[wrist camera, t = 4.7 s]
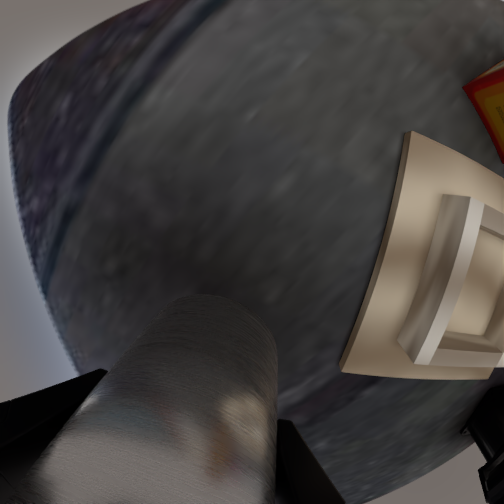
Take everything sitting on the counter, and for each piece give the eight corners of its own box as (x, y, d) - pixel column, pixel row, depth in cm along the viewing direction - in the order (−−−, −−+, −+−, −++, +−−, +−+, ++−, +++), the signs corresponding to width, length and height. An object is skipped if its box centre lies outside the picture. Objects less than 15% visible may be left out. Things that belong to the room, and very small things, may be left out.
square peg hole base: (482, 373, 18) (503, 396, 14) (338, 363, 18) (350, 399, 14) (540, 208, 14) (569, 214, 10) (404, 133, 15) (436, 121, 11)
